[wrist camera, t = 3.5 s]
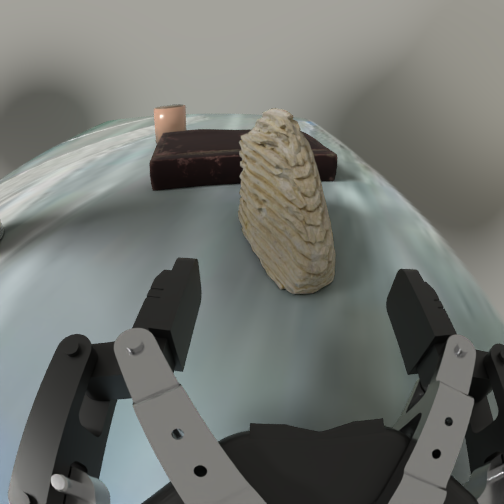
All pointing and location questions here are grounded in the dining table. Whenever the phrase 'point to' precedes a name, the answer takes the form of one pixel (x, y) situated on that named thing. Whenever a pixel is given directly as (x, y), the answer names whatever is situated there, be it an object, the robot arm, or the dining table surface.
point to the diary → (214, 159)
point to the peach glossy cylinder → (169, 119)
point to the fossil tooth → (285, 205)
